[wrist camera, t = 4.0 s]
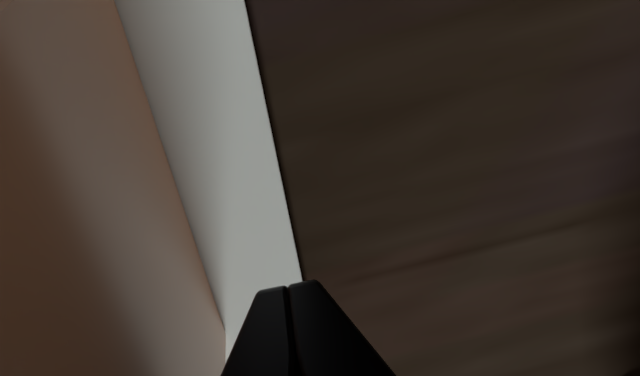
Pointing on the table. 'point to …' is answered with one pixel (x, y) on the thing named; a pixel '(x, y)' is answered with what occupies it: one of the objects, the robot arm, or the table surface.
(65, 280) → the tile
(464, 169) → the table surface
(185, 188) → the mat
